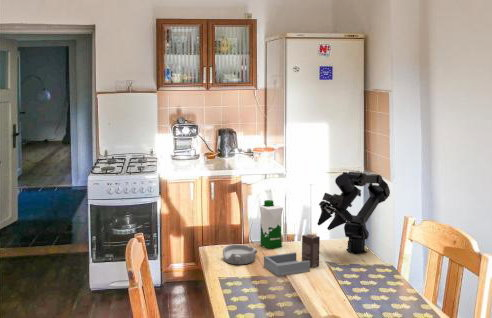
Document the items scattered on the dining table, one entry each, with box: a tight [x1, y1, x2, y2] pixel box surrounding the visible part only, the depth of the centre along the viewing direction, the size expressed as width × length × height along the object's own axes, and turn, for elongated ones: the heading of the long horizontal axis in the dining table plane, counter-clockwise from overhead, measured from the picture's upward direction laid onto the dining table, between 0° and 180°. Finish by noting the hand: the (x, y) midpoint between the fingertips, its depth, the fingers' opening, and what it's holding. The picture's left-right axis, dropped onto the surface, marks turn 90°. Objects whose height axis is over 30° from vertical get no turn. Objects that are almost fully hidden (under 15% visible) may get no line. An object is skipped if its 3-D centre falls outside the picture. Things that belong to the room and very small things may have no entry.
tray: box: [263, 252, 311, 277], centre depth 220 cm, size 14×12×4 cm
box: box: [301, 233, 321, 269], centre depth 224 cm, size 6×4×12 cm
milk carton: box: [259, 199, 284, 250], centre depth 249 cm, size 9×9×20 cm
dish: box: [222, 243, 258, 266], centre depth 232 cm, size 14×14×5 cm
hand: (323, 227), depth 230 cm, fingers open, 8 cm apart
